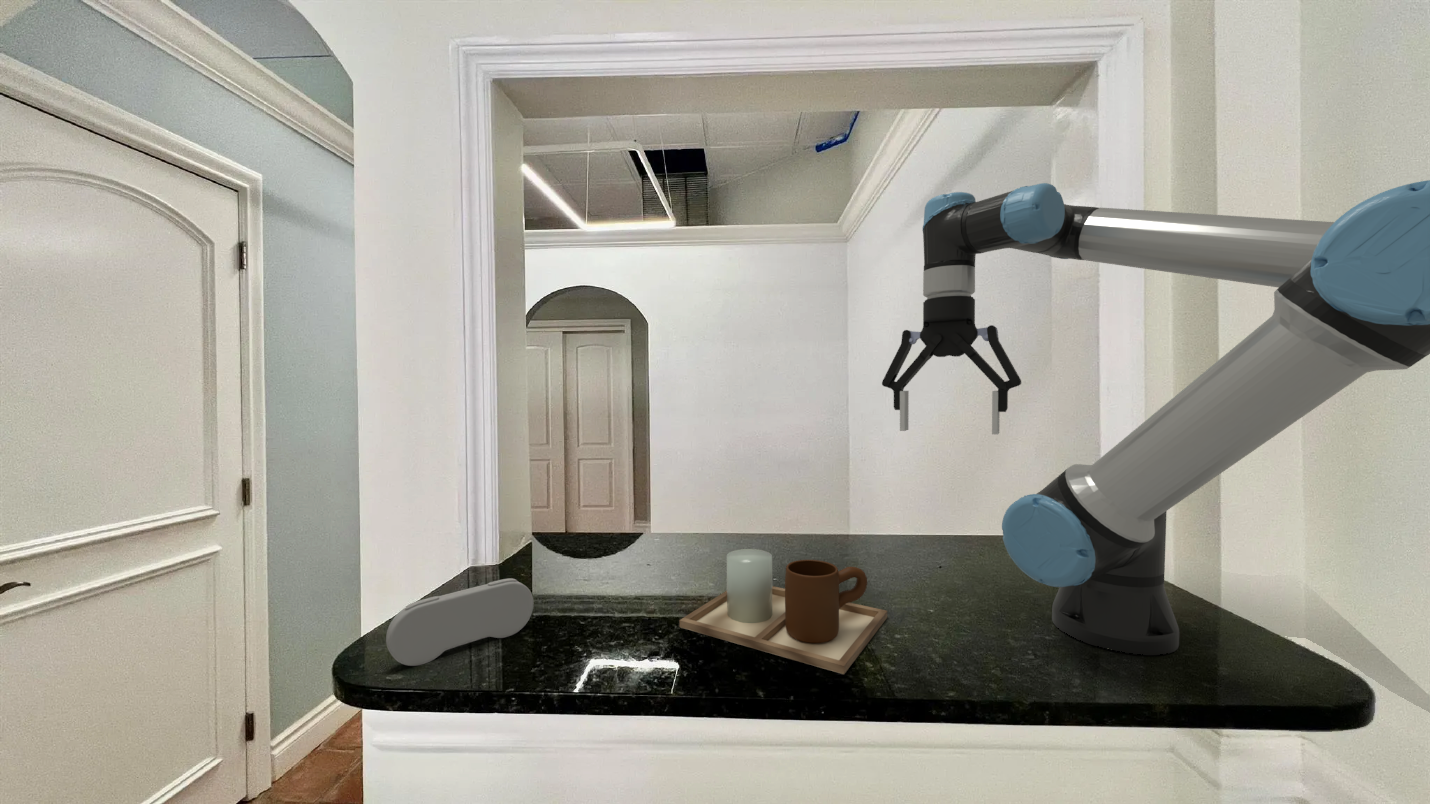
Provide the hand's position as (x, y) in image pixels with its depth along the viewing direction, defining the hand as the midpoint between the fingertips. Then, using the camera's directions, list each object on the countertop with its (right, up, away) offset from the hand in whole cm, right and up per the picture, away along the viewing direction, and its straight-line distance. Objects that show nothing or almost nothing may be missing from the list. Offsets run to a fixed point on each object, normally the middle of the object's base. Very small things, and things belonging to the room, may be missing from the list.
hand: (948, 432), depth 89 cm
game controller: (-72, -30, -10) cm, 79 cm away
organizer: (-27, -29, -6) cm, 40 cm away
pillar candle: (-32, -28, -2) cm, 42 cm away
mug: (-21, -28, -9) cm, 36 cm away
